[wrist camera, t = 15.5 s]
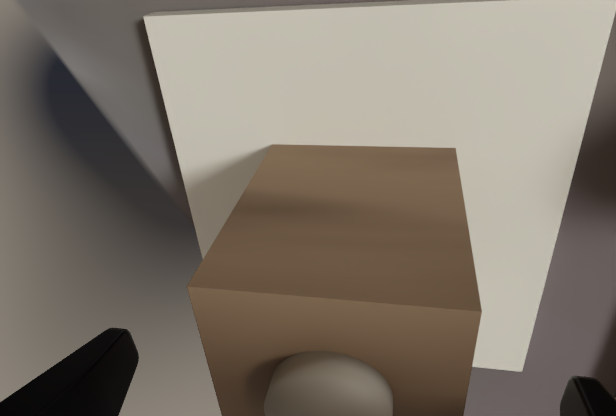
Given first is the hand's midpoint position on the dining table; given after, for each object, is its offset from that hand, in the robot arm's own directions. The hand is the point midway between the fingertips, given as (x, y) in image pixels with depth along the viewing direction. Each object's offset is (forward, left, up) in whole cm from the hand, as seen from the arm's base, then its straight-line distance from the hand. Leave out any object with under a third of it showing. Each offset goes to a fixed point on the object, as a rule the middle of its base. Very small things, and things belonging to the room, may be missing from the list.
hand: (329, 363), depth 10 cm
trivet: (0, 0, -6) cm, 6 cm away
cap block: (0, 0, -5) cm, 5 cm away
